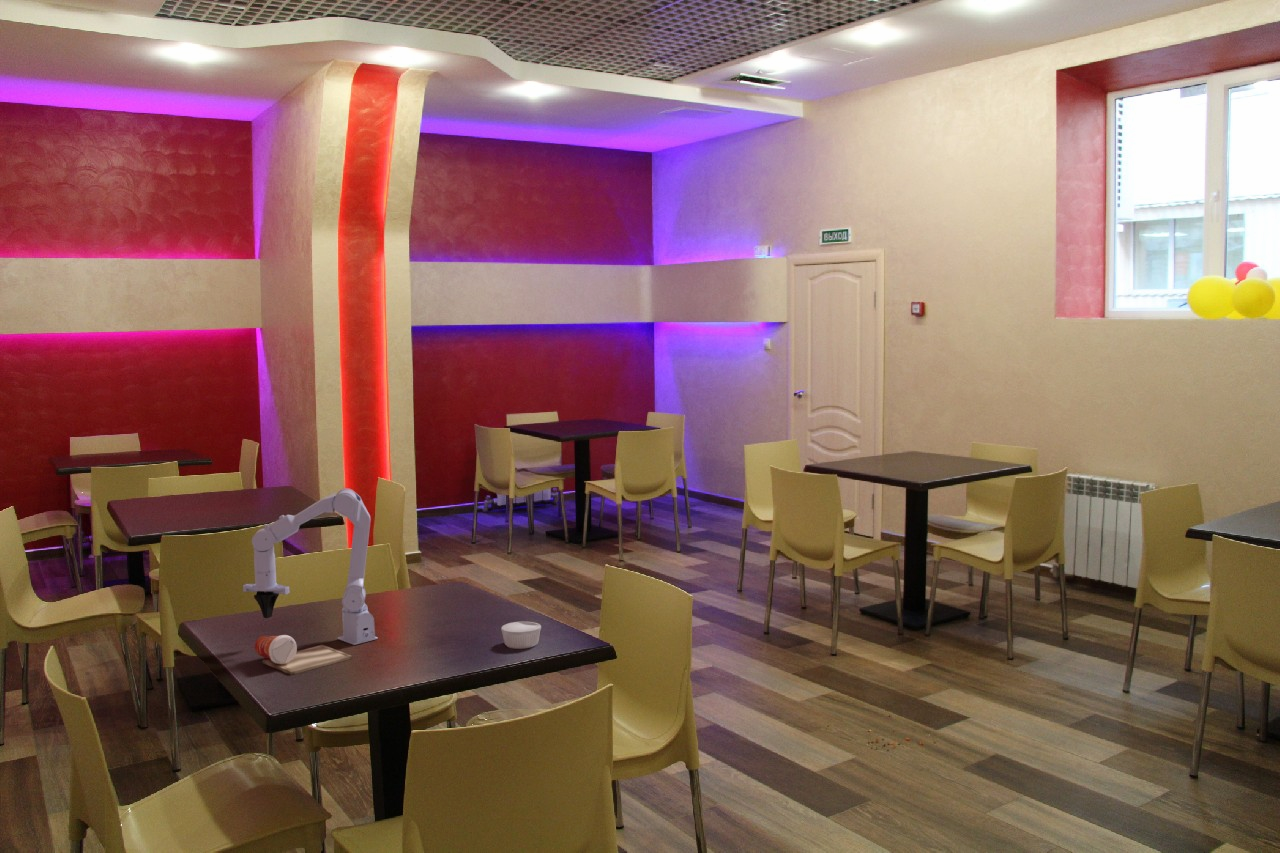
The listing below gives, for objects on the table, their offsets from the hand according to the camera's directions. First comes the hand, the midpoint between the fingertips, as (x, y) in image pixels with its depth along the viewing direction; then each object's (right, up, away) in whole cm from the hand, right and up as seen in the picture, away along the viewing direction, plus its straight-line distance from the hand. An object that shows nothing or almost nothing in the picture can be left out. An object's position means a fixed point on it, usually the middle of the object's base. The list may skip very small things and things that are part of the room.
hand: (267, 617), depth 302 cm
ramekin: (+74, -7, -3) cm, 74 cm away
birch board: (+16, -9, -14) cm, 23 cm away
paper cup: (+3, -6, -11) cm, 12 cm away
